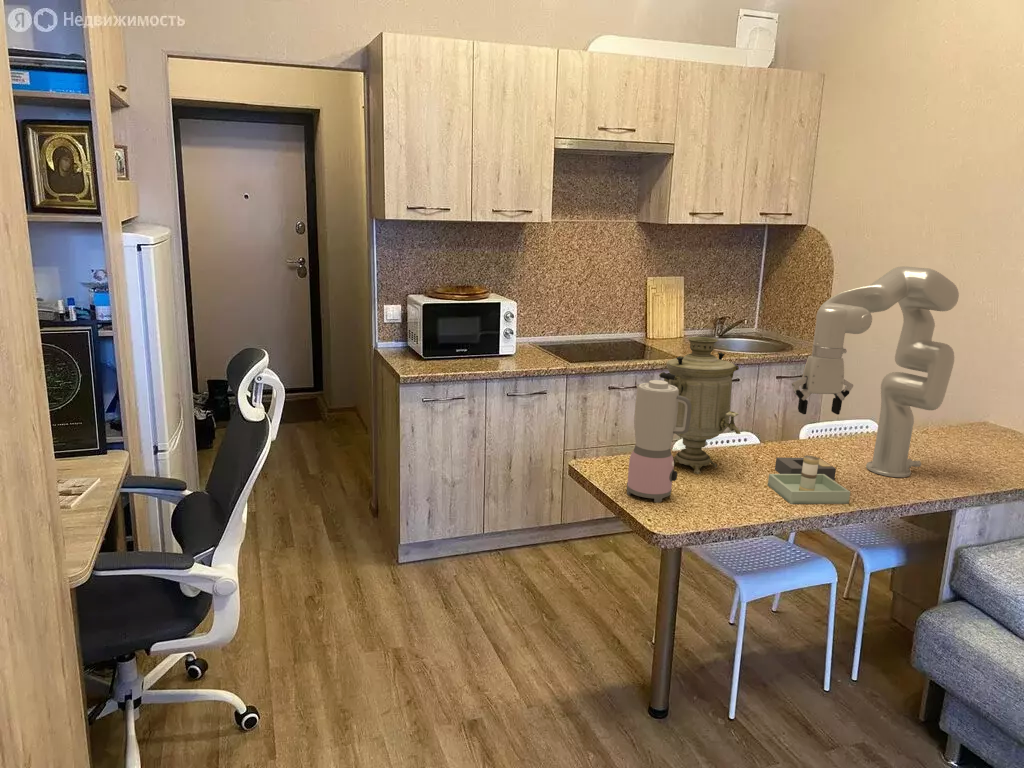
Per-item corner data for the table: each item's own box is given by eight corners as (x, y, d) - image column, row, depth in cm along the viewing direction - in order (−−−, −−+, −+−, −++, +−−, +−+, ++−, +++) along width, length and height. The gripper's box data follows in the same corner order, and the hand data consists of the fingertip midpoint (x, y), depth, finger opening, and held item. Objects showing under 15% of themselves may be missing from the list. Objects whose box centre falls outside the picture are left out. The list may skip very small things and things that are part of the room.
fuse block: (817, 469, 230) (819, 457, 229) (834, 481, 220) (836, 467, 220) (774, 469, 229) (776, 456, 228) (789, 481, 219) (791, 467, 218)
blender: (619, 496, 202) (628, 382, 194) (634, 482, 212) (643, 374, 205) (675, 509, 194) (686, 391, 187) (688, 494, 205) (699, 383, 197)
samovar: (680, 488, 209) (693, 350, 200) (632, 459, 233) (642, 334, 224) (763, 478, 220) (780, 347, 211) (709, 451, 244) (722, 332, 235)
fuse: (809, 488, 211) (814, 455, 209) (816, 493, 207) (822, 460, 205) (796, 488, 210) (801, 455, 208) (803, 493, 207) (808, 460, 204)
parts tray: (822, 485, 217) (824, 474, 216) (848, 503, 203) (850, 491, 202) (767, 485, 215) (769, 473, 214) (790, 503, 201) (791, 491, 200)
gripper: (849, 350, 204) (840, 409, 208) (790, 349, 202) (782, 409, 206) (864, 355, 197) (855, 417, 201) (803, 354, 195) (795, 416, 199)
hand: (818, 413), depth 204 cm, fingers open, 9 cm apart
